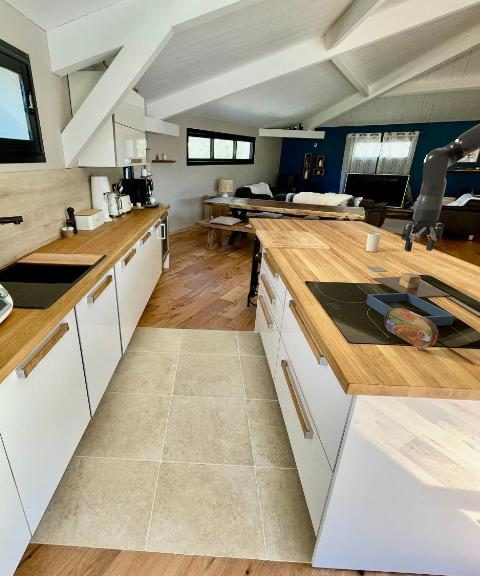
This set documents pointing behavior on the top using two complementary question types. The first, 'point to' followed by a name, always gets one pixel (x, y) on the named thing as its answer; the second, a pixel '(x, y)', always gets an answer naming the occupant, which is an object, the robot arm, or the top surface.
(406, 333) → the tin
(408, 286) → the block
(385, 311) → the blue rectangular frame
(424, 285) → the board
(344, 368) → the top surface
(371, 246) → the drinking glass
